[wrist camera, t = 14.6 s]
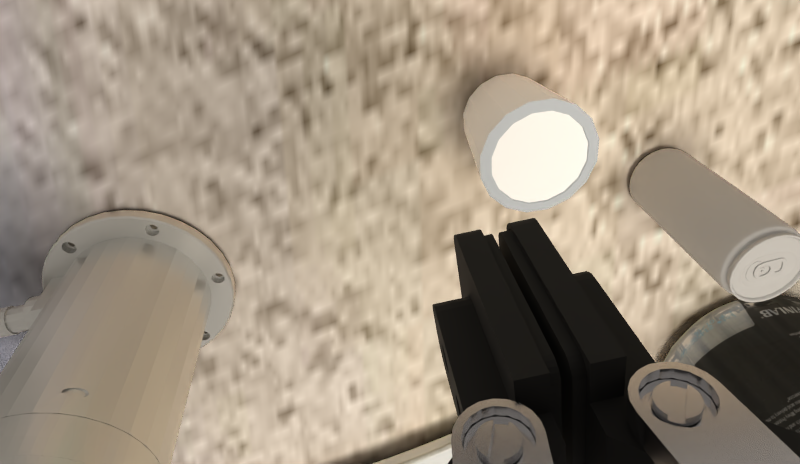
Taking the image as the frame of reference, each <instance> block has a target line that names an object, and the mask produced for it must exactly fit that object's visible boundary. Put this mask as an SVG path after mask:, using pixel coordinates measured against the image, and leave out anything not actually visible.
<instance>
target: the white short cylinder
mask: <svg viewBox="0 0 800 464" xmlns="http://www.w3.org/2000/svg"><path fill="white" fill-rule="evenodd" d="M463 121H464V131H465V134H466V137H467V140H468V143H469V146H470V149H471V152H472V155H473V158H474V160H475V163H476V166H477V169H478V172H479V175H480V178H481V180H482V182H483V184H484V186H485V188H486V190H487V191H488V193H489V195H490V197H492V198H493V199H495V200H496V201H497V202H499V203H500V204H501V205H503V206H504V207H506V208H509V209H514V210H518V211H523V212H532V211H538V210H544V209H549V208H551V207H553V206H555V205H557V204H559V203H561V202H563V201H565V200H567V199H569V198H570V197H571V196H572V195H573V194H574V193H575V192H576V191H577V190H578V189H579V188H580V187H581V186H582V185H583V184H584V183H585V182H586V181H587V180H588V178H589V176H590V174H591V172H592V170H593V168H594V166H595V164H596V162H597V157H598V146H599V137H598V134H597V131H596V128H595V125H594V123H593V120H592V118H591V117H590V116H589V115H587V114H586V113H585V112H584V111H583V110H582V109H581V108H580V107H579V106H578V105H576V104H575V103H573V102H571V101H569V100H568V99H566V98H564V97H562V96H560V95H559V94H557V93H555V92H553V91H551V90H550V89H548V88H546V87H544V86H543V85H541V84H539V83H537V82H535V81H534V80H532V79H530V78H528V77H524V76H521V75H517V74H514V73H511V74H504V75H497V76H494V77H493V78H491V79H489V80H487V81H486V82H484V83H482V84H480V86H479V87H478V88H477V89H476V90H475V91H474V93H473V94H472V95H471V96H470V97H469V99H468V102H467V105H466V107H465V110H464V113H463Z"/></svg>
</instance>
